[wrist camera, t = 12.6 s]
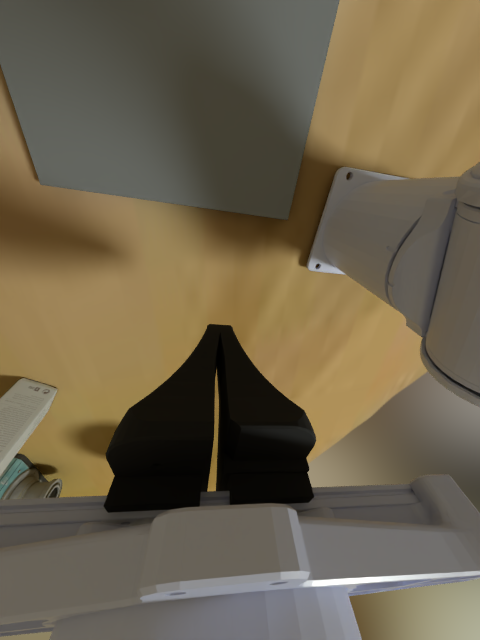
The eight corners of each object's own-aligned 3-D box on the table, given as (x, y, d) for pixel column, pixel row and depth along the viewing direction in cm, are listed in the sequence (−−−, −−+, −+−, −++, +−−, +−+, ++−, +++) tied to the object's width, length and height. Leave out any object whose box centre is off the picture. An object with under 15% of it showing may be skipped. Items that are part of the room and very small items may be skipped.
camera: (82, 488, 44) (49, 558, 36) (33, 489, 43) (-13, 562, 34) (58, 452, 35) (7, 534, 27) (-5, 452, 34) (-79, 538, 26)
